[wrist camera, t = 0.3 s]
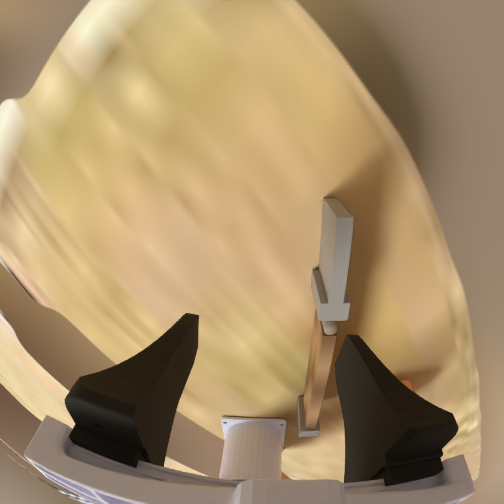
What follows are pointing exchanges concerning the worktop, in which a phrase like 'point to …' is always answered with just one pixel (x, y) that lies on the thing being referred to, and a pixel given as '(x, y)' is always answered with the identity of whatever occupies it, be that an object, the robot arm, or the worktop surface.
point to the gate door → (318, 368)
